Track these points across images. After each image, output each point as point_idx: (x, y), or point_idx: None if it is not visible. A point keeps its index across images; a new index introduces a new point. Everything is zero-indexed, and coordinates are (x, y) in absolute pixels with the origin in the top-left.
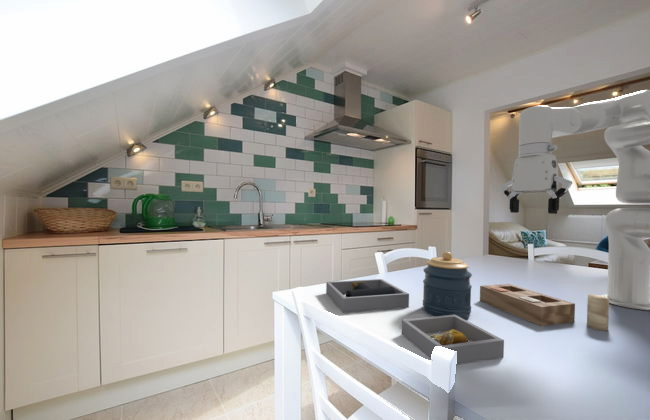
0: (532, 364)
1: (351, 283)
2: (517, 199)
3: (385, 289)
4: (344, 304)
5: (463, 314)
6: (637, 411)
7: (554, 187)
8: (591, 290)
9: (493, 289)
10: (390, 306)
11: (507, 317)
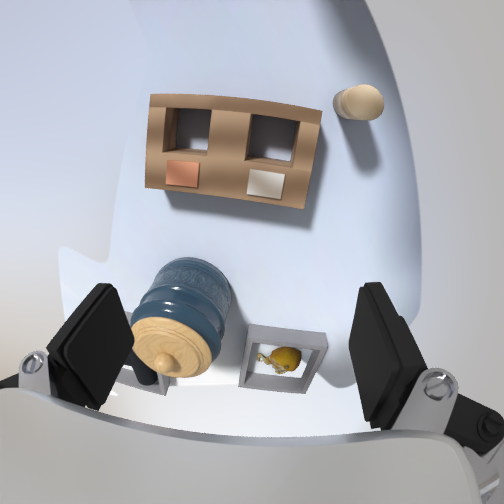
0: (348, 320)
1: None
2: (65, 363)
3: None
4: (167, 389)
5: (230, 300)
6: (416, 313)
7: (429, 479)
8: None
9: (176, 184)
10: None
11: (248, 213)
